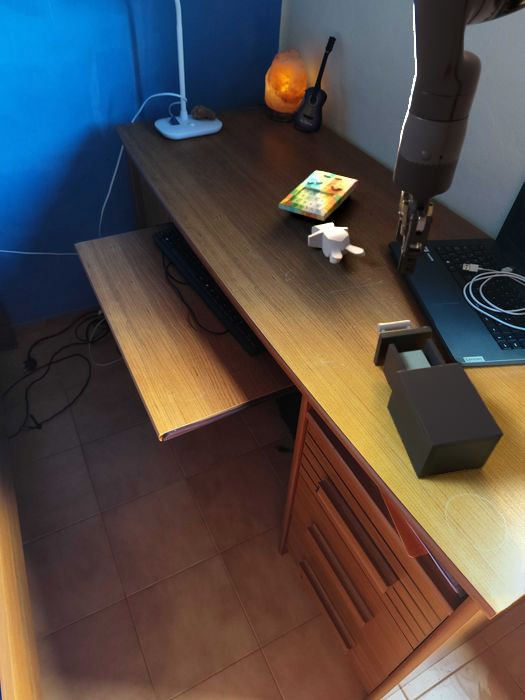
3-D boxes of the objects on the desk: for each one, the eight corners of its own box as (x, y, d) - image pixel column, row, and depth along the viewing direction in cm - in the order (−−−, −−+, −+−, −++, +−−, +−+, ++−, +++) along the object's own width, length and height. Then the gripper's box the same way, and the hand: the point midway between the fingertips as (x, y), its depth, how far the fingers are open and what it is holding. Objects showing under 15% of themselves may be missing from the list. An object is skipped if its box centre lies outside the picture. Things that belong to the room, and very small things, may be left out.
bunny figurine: (338, 214, 106) (371, 241, 95) (337, 235, 109) (369, 264, 98) (300, 222, 104) (329, 251, 93) (300, 243, 107) (328, 273, 96)
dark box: (386, 406, 73) (396, 371, 67) (444, 398, 74) (459, 362, 68) (417, 478, 65) (432, 445, 59) (482, 468, 66) (504, 434, 59)
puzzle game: (358, 176, 117) (323, 212, 105) (356, 194, 120) (321, 230, 109) (317, 166, 121) (278, 200, 110) (316, 183, 125) (278, 218, 113)
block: (415, 366, 76) (421, 349, 74) (426, 384, 74) (432, 368, 71) (392, 369, 76) (397, 353, 73) (402, 388, 73) (407, 371, 70)
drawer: (365, 344, 82) (371, 315, 77) (410, 337, 83) (419, 309, 78) (397, 416, 71) (406, 388, 66) (449, 408, 72) (462, 380, 67)
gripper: (468, 176, 53) (433, 288, 65) (453, 127, 63) (425, 232, 74) (401, 173, 54) (378, 283, 66) (396, 125, 64) (377, 228, 75)
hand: (403, 256), depth 70 cm, fingers open, 8 cm apart
